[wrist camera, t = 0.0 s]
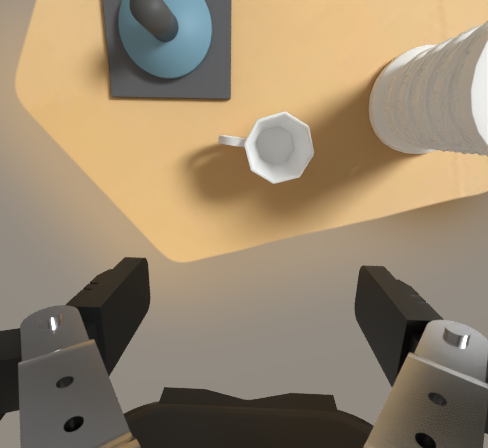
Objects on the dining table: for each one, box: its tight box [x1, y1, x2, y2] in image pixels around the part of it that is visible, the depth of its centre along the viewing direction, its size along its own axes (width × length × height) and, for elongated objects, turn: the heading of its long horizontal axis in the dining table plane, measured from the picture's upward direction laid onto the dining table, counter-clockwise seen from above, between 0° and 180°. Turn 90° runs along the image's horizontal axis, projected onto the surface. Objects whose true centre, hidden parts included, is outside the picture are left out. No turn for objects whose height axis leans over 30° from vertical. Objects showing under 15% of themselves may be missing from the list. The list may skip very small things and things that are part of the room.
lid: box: [119, 0, 213, 79], centre depth 32 cm, size 10×10×7 cm
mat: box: [103, 0, 231, 99], centre depth 35 cm, size 14×14×1 cm
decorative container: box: [368, 21, 488, 156], centre depth 28 cm, size 12×12×18 cm
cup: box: [218, 112, 314, 184], centre depth 35 cm, size 7×10×8 cm
